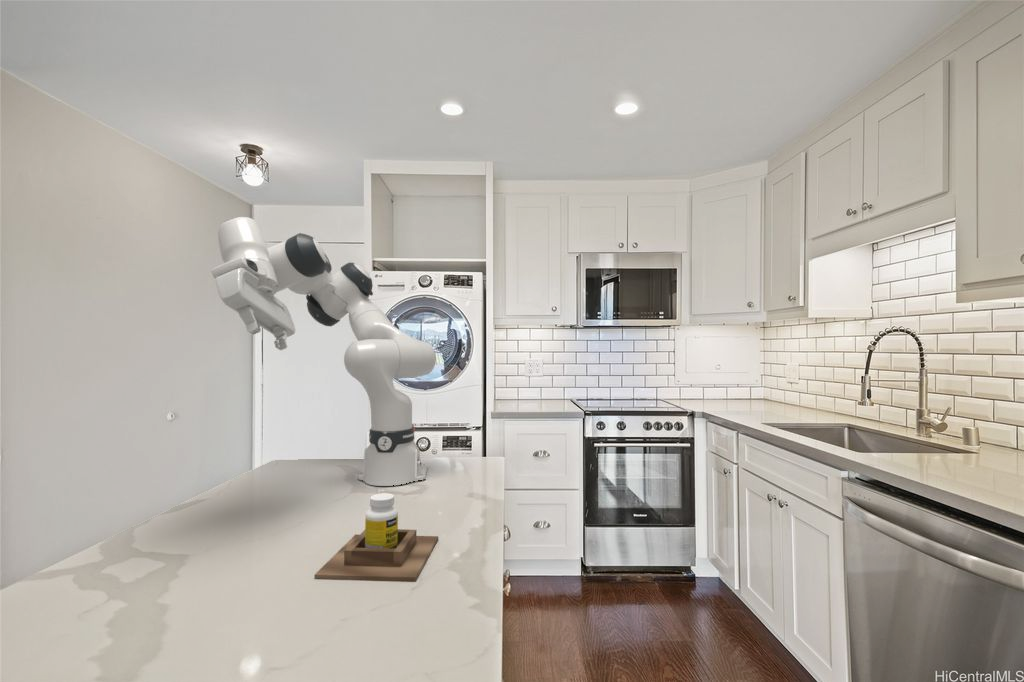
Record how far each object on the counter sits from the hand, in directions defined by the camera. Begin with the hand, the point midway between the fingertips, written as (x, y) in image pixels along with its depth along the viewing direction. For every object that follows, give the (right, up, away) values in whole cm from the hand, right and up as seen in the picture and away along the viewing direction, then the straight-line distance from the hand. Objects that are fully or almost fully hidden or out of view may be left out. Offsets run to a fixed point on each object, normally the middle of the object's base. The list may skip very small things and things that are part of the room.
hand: (268, 340), depth 91 cm
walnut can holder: (+25, -37, -11) cm, 46 cm away
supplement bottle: (+25, -37, -11) cm, 46 cm away
